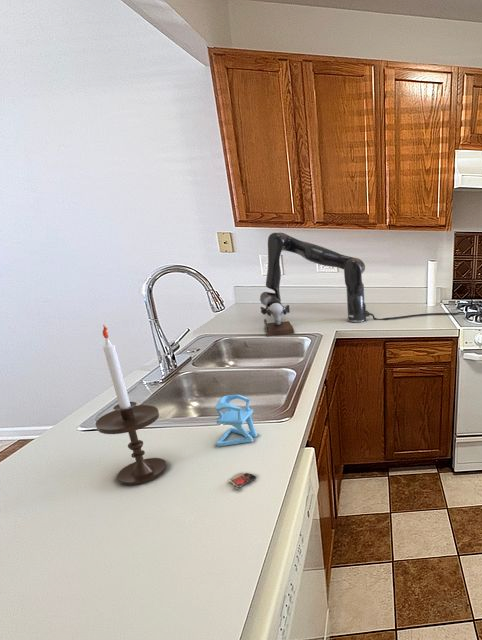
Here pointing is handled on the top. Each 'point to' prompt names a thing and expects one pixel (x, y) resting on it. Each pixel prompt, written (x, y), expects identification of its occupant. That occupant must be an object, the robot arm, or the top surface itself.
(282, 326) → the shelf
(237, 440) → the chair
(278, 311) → the lightbulb
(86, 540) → the top surface
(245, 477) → the matchbox
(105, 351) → the candlestick
